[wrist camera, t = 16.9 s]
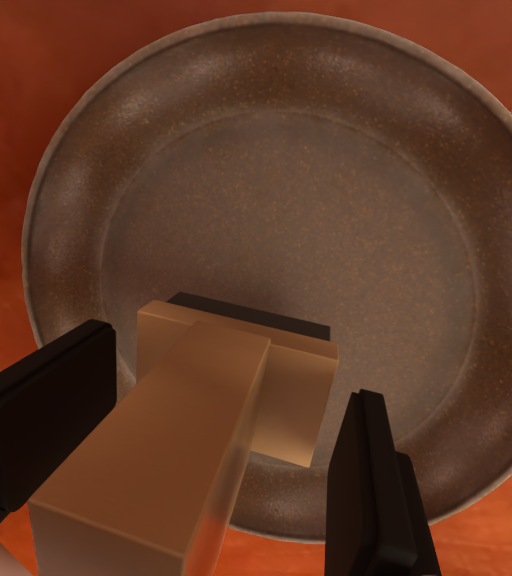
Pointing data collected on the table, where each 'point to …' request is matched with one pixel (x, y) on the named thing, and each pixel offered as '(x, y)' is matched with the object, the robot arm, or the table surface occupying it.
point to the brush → (184, 440)
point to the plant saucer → (299, 232)
